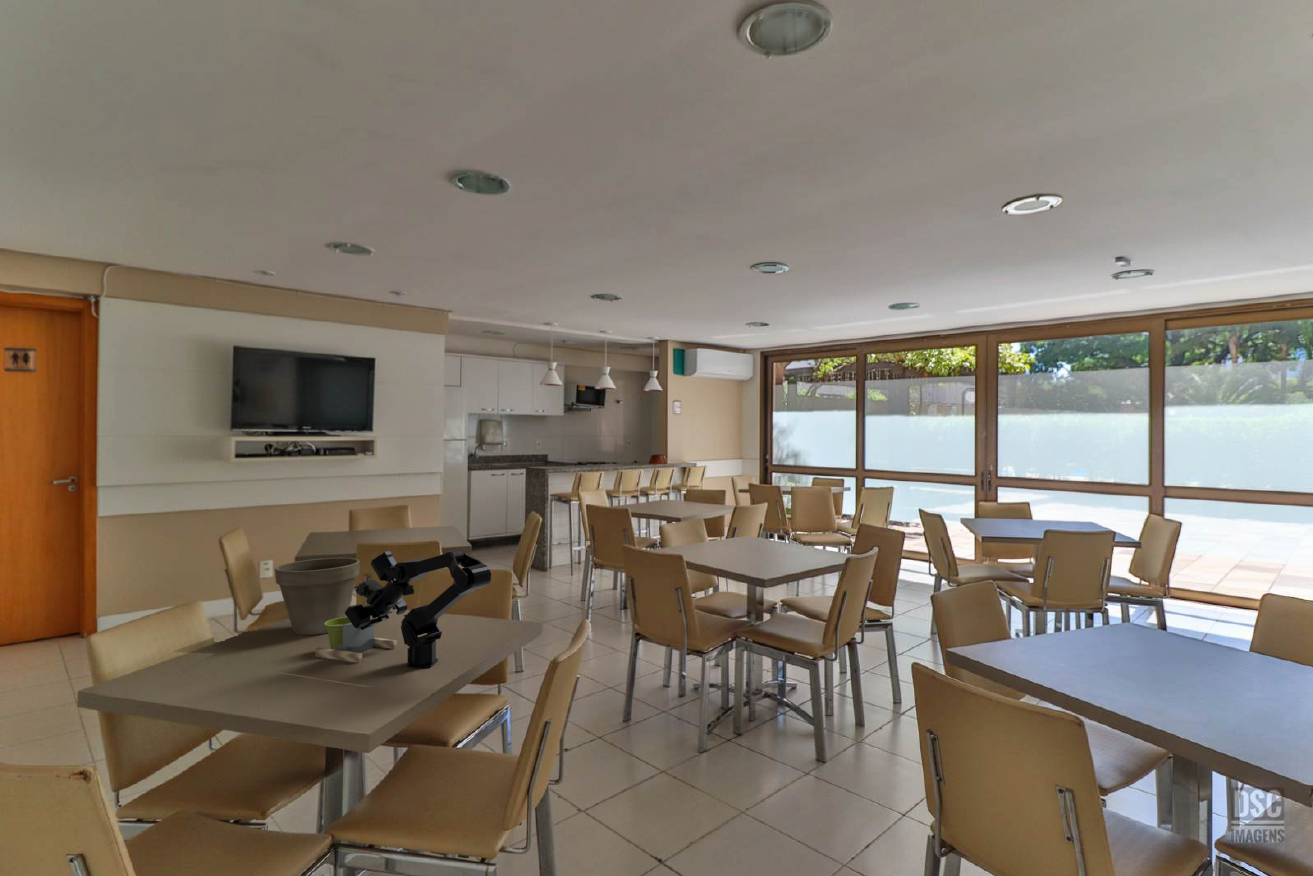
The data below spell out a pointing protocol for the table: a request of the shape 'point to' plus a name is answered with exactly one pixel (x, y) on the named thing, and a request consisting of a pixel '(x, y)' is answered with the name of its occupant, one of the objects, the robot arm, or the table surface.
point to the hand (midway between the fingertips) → (361, 628)
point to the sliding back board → (356, 639)
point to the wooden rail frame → (353, 655)
